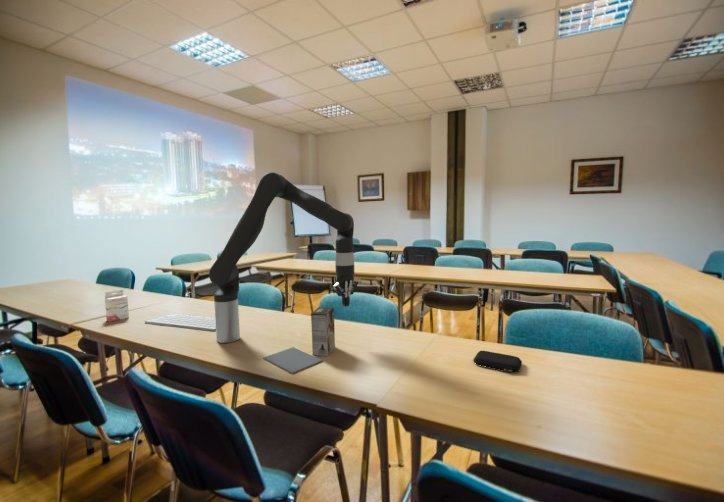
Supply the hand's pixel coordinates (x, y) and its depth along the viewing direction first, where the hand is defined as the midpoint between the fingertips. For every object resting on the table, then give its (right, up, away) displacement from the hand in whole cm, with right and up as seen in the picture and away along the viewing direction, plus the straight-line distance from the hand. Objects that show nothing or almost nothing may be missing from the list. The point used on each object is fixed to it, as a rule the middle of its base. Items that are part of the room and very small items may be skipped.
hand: (345, 305), depth 137 cm
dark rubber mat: (-18, -17, -15) cm, 29 cm away
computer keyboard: (-78, -14, +32) cm, 86 cm away
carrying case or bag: (+53, -17, -21) cm, 59 cm away
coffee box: (-8, -16, -7) cm, 20 cm away
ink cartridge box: (-120, -13, +38) cm, 126 cm away
